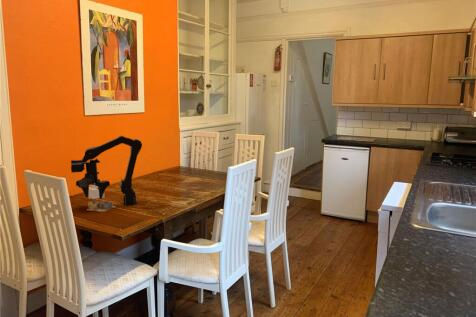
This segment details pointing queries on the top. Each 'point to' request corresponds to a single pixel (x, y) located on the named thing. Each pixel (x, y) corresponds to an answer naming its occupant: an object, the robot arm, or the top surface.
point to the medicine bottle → (94, 192)
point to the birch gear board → (100, 208)
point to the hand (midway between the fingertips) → (93, 198)
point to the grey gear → (106, 205)
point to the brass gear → (94, 205)
